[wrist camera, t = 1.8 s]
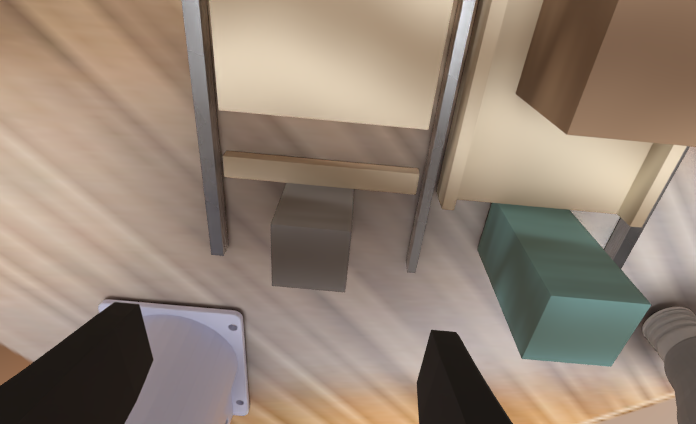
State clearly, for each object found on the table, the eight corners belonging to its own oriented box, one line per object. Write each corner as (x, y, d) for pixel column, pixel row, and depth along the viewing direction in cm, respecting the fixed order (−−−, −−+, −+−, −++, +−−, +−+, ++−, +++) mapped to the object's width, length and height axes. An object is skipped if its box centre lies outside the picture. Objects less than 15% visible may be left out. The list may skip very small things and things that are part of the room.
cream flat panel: (404, 241, 20) (412, 298, 16) (232, 226, 20) (204, 279, 16) (469, -102, 13) (508, -129, 9) (204, -128, 13) (144, -166, 9)
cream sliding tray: (594, 260, 20) (685, 373, 14) (424, 244, 20) (447, 351, 14) (773, -92, 12) (1103, -146, 7) (505, -119, 12) (620, -195, 7)
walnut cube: (631, 104, 15) (722, 149, 11) (515, 93, 15) (566, 134, 11) (694, -34, 13) (836, -37, 9) (557, -47, 13) (640, -56, 9)
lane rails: (601, 279, 20) (609, 290, 20) (216, 245, 20) (211, 254, 20) (793, -79, 13) (817, -82, 12) (175, -141, 12) (164, -148, 12)
